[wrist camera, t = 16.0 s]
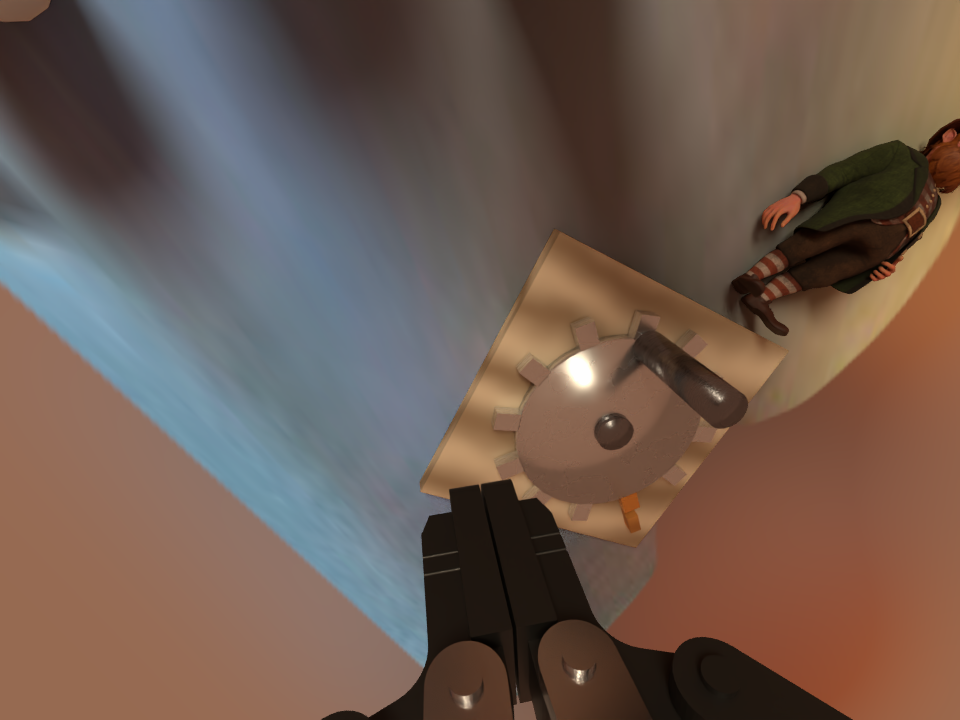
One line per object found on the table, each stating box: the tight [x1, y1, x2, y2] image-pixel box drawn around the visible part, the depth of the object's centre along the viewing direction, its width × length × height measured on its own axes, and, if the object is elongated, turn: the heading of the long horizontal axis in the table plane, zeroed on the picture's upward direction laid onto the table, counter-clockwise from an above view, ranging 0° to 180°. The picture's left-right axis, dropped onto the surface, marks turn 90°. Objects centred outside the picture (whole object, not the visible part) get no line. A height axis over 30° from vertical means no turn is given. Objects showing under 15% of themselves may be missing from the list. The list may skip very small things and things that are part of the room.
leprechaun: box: [732, 119, 960, 336], centre depth 40 cm, size 11×10×25 cm
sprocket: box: [491, 310, 748, 521], centre depth 41 cm, size 24×24×12 cm
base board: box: [420, 229, 789, 548], centre depth 46 cm, size 28×28×3 cm
